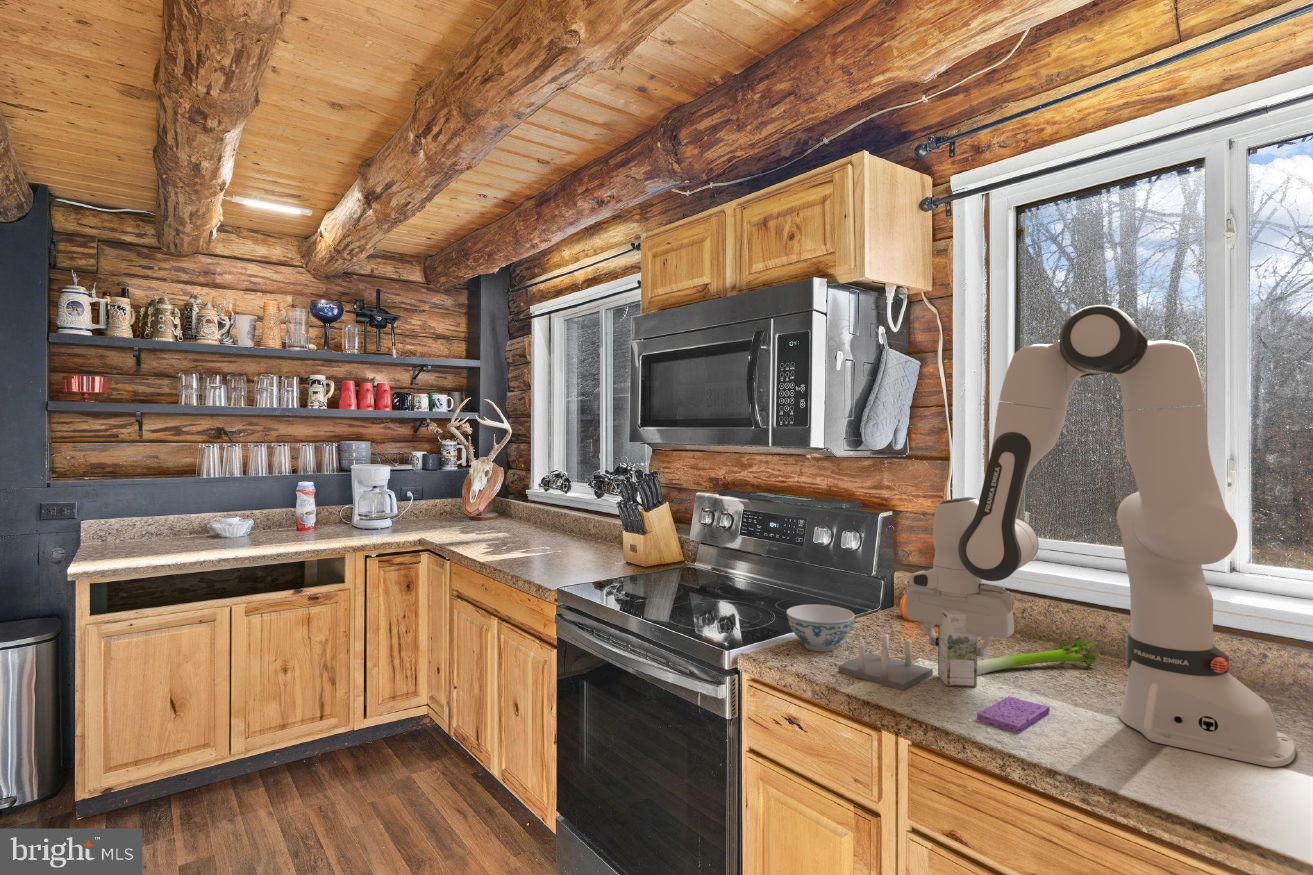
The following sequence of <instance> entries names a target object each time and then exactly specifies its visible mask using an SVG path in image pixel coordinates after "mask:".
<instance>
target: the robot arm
mask: <svg viewBox="0 0 1313 875" xmlns="http://www.w3.org/2000/svg"><path fill="white" fill-rule="evenodd" d="M1199 368H1200V367H1199V365H1198V362H1197V359H1196V357H1195V354H1194V351H1193V350H1192V349H1191V348H1190V347H1189V346H1188V345H1185V344H1184V343H1181V342H1177V341H1173V340H1155V341H1154V340H1148V338H1147V336H1146V335H1145V334H1144V332H1142V331H1141V330H1140V328H1139V327H1138V326H1137V324H1136V323H1135V322H1134V321H1133V319H1132V318H1131V317H1130V316H1129V315H1128V314H1127V313H1126V312H1124V311H1122V310H1121V309H1119V308H1117V307H1115V306H1111V305H1106V304H1096V305H1095V304H1094V305H1091V306H1090V305H1089V306H1086V307H1083V308H1081V309H1079V310H1077V311H1075V312H1073V313H1072V314H1071V315H1070V316H1069V317H1068V318H1067V319H1066V321H1065V322H1064V323H1063V325H1062V327H1061V330H1060V334H1059V338H1058V340H1057V341H1056V342H1053V343H1047V344H1045V343H1044V344H1043V343H1037V344H1036V343H1035V344H1030V345H1026V346H1023V347H1021V348H1020V349H1018V350H1017V351H1016V352H1015V353H1014V354H1013V355H1012V358H1011V360H1010V363H1009V365H1008V368H1007V370H1006V373H1005V376H1004V380H1003V383H1002V385H1001V390H1000V394H999V399H998V404H997V410H996V416H995V423H994V424H995V425H994V432H993V438H992V444H991V449H990V450H991V451H990V457H989V460H988V465H987V467H986V470H985V471H986V472H985V476H984V480H983V484H982V488H981V491H980V496H979V499H978V498H977V497H972V496H971V497H969V496H968V497H967V496H966V497H965V496H964V497H958V498H953V499H946V500H943V501H941V502H940V503H938V505H937V506H936V508H935V512H934V517H933V529H932V531H933V532H932V543H933V546H934V558H933V560H932V568H927V569H924V570H920V571H916V572H913V573H911V574H910V575H909V576H908V583H909V584H910V585H909V586H908V587H907V589H906V593H905V599H904V600H905V602H904V603H905V605H904V613H905V615H906V617H907V618H908V619H909V620H912V621H917V622H922V626H923V627H922V628H923V629H924V631H925V633H926V635H927V637H928V645H929V646H931V647H932V646H933V647H936V648H938V635H936V632H935V630H934V627H936V625H937V626H938V625H940V626H942V611H943V608H946V609H950V610H954V611H958V612H961V613H964V614H966V622H965V628H966V631H968V632H973V633H977V635H981V640H982V641H983V642H982V644H981V645H977V647H976V656H977V658H979V657H980V658H983V659H984V658H986V657H987V656H988V647H989V646H991V643H992V642H993V640H994V638H998V639H1002V640H1005V639H1007V638H1009V637H1011V636H1012V634H1014V632H1015V621H1014V614H1013V609H1014V597H1013V595H1012V593H1011V592H1010V591H1009V590H1006V588H1005V587H1001V586H994V585H988V584H983V581H988V582H999V581H1002V580H1005V579H1007V578H1009V577H1010V576H1012V574H1014V573H1015V572H1016V571H1017V570H1019V569H1020V568H1022V567H1024V566H1026V565H1027V564H1029V563H1030V562H1031V561H1032V560H1033V559H1034V558H1035V557H1036V555H1037V553H1038V550H1039V538H1038V535H1037V533H1036V531H1035V529H1034V528H1033V527H1032V526H1031V525H1030V524H1028V523H1027V522H1026V521H1024V520H1022V519H1020V518H1018V514H1019V510H1020V507H1021V506H1020V505H1021V501H1022V496H1023V492H1024V489H1025V486H1026V481H1027V479H1028V477H1029V475H1030V473H1031V472H1032V470H1033V468H1034V467H1035V466H1036V464H1038V462H1039V461H1040V460H1041V459H1042V458H1044V457H1045V456H1046V455H1047V454H1048V453H1049V452H1051V450H1052V449H1053V448H1054V447H1055V446H1056V445H1057V442H1058V440H1059V438H1060V435H1061V433H1062V430H1063V427H1064V423H1065V421H1066V416H1067V410H1068V405H1069V400H1070V396H1071V393H1072V392H1071V391H1072V389H1073V385H1074V384H1075V383H1076V381H1077V379H1078V378H1082V377H1083V378H1085V377H1090V376H1097V375H1098V376H1099V375H1104V374H1110V375H1113V376H1114V377H1115V378H1116V379H1117V381H1118V383H1119V386H1120V390H1121V397H1122V398H1121V399H1122V410H1123V411H1122V414H1123V430H1124V441H1125V442H1124V443H1125V455H1126V460H1127V461H1128V462H1129V465H1130V467H1131V470H1132V472H1133V476H1134V480H1135V483H1136V486H1137V490H1138V491H1136V492H1134V493H1131V494H1130V495H1127V496H1126V497H1125V498H1124V499H1123V500H1122V501H1121V502H1120V504H1119V506H1118V508H1117V512H1116V521H1117V524H1118V527H1119V530H1120V534H1121V539H1122V540H1121V541H1122V548H1123V554H1124V555H1123V556H1124V560H1125V565H1126V570H1127V575H1128V583H1129V594H1130V633H1129V634H1128V635H1127V641H1126V646H1125V647H1126V648H1125V650H1126V655H1125V657H1126V659H1125V660H1126V664H1127V665H1126V666H1127V668H1128V674H1127V682H1126V686H1125V687H1126V688H1125V691H1124V697H1123V700H1122V704H1121V705H1120V706H1121V707H1120V709H1119V711H1118V714H1117V715H1118V718H1119V719H1120V721H1122V722H1123V723H1125V724H1126V725H1127V726H1129V727H1130V728H1133V729H1135V730H1136V731H1138V732H1140V733H1141V734H1142V735H1143V736H1144V737H1145V738H1146V739H1148V740H1149V741H1151V742H1154V743H1156V744H1162V745H1167V746H1171V747H1175V748H1180V749H1185V750H1190V751H1195V752H1199V753H1205V754H1208V755H1213V756H1218V757H1222V758H1226V759H1232V760H1235V761H1240V762H1244V763H1245V762H1246V763H1250V764H1255V765H1258V766H1259V765H1260V766H1264V767H1269V768H1270V767H1271V768H1277V767H1283V766H1286V765H1289V764H1290V763H1292V762H1293V761H1294V759H1295V758H1296V753H1297V752H1296V744H1295V742H1294V741H1293V740H1292V739H1291V738H1290V737H1289V736H1287V735H1286V734H1285V733H1282V732H1280V731H1277V726H1276V721H1275V718H1274V715H1273V712H1272V710H1271V708H1270V705H1269V704H1268V703H1267V702H1266V700H1265V699H1263V698H1262V697H1260V696H1259V695H1258V694H1256V693H1255V692H1254V691H1252V690H1251V689H1250V688H1249V687H1248V686H1246V685H1245V684H1243V683H1242V682H1241V681H1240V680H1238V678H1236V677H1235V676H1233V675H1231V673H1229V671H1230V658H1229V655H1230V653H1229V651H1228V650H1226V651H1225V652H1224V651H1222V650H1221V649H1219V648H1218V647H1216V646H1215V645H1214V644H1213V643H1214V599H1213V595H1212V592H1211V591H1210V589H1209V586H1208V583H1207V581H1206V578H1205V574H1204V570H1203V565H1204V566H1205V565H1213V564H1215V563H1218V562H1220V561H1222V560H1224V559H1225V558H1226V557H1228V556H1229V555H1230V554H1231V553H1232V552H1233V550H1234V549H1235V547H1236V544H1237V542H1238V528H1237V524H1236V523H1235V521H1234V519H1233V518H1232V516H1231V515H1230V513H1229V512H1228V510H1227V508H1226V506H1225V504H1224V503H1225V502H1224V499H1223V497H1222V493H1221V489H1220V486H1219V484H1218V480H1217V476H1216V474H1215V471H1214V467H1213V464H1212V460H1211V455H1210V450H1209V440H1208V438H1209V437H1208V430H1207V415H1206V406H1205V405H1206V401H1205V393H1204V386H1203V383H1202V382H1203V381H1202V378H1201V372H1200V369H1199Z"/></svg>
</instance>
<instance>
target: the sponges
mask: <svg viewBox="0 0 1313 875" xmlns="http://www.w3.org/2000/svg"><path fill="white" fill-rule="evenodd" d="M1050 708H1051V706H1050V705H1046V704H1040V703H1038V702H1032V701H1027V700H1024V699H1020V698H1017V697H1014V696H1010V695H1008V696H1006V697H1004V698H1003V699H1001V700H999V701H997V702H995V703H993V704H992V705H990V706H987V707H985V708H984V709H981V710H979V711H978V712H977V713H976V721H977V720H979V721H978V722H980V721H981V723H983V722H984V723H983V724H987V725H990V726H994V727H995V728H999V729H1002V730H1007V731H1009V732H1012V733H1016V734H1020V733H1021V732H1024V731H1025V730H1027V729H1028V728H1029V727H1031V726H1033V725H1034V724H1036V723H1037V722H1039V721H1040V720H1042V719H1043V718H1045V717H1047V716H1049V714H1050V712H1051V711H1050V710H1051V709H1050Z"/></svg>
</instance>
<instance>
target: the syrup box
mask: <svg viewBox="0 0 1313 875" xmlns="http://www.w3.org/2000/svg"><path fill="white" fill-rule="evenodd" d="M965 622H966V614H964V613H961V612H958V611H954V610H950V609H946V608H943V611H942V626H940V625H937V626H938V628H937V630H938V632H937V633H938V634H937V636H938V646H937V648H938V649H937V675H938V678H940V679H941V681H942V682H943V683H944V684H945V685H946V686H947V687H950V686H951V687H969V686H971V688H972V687H975V688H976V687H977V686H978V685H977V682H978V676H977V661H978V656H976V647H978V633H973V632H968V631H966V628H965Z"/></svg>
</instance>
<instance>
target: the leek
mask: <svg viewBox="0 0 1313 875" xmlns="http://www.w3.org/2000/svg"><path fill="white" fill-rule="evenodd" d="M1074 643H1075V644H1070V643H1069V642H1062V643H1061V642H1060V643H1059V646H1058V648H1055V649H1052V650H1046V651H1038V652H1032V653H1031V652H1030V653H1025V654H1024V653H1022V654H1015V655H1007V656H1006V655H1005V656H1000V657H994V658H987V659H982V660H981V659H980V660H977V675H978V676H983V675H985V674H989V673H993V672H996V671H997V672H998V671H1001V670H1005V669H1006V670H1007V669H1011V668H1012V669H1013V668H1016V667H1017V668H1018V667H1023V666H1028V665H1035V664H1044V663H1056V662H1062V663H1066V662H1076V663H1077V662H1079V663H1080V662H1082V663H1085V667H1086V668H1090V667H1091V666H1092V664H1094V665H1096V664H1097V662H1098V661H1097V660H1098V657H1100V654H1099V652H1097V653H1096V652H1091V651H1089V649H1092V647H1093V646H1095V645H1098V642H1097V640H1095V641H1091V639H1090V640H1088V639H1081V638H1080V637H1077V638H1076V639H1074ZM1094 644H1095V645H1094ZM1082 652H1083V653H1085V652H1086V653H1085V654H1081V653H1082Z"/></svg>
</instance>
